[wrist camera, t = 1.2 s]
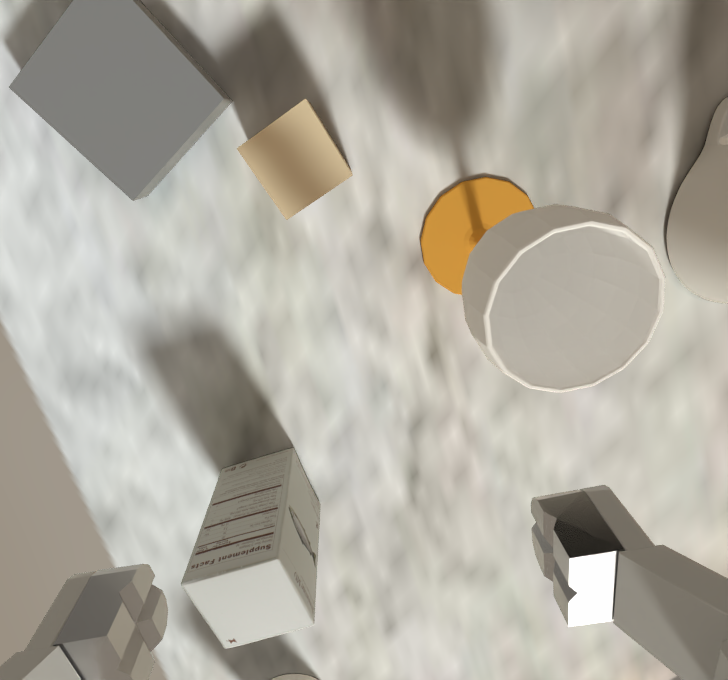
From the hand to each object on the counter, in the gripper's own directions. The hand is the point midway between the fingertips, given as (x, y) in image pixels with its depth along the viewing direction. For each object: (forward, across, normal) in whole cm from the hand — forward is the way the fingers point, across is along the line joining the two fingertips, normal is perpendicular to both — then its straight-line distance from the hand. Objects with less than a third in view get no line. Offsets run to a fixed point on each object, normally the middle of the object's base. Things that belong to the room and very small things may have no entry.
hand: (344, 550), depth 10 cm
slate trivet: (+29, +11, -12) cm, 33 cm away
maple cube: (+28, +1, -7) cm, 29 cm away
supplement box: (+29, +10, +21) cm, 37 cm away
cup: (+28, -11, +1) cm, 31 cm away
